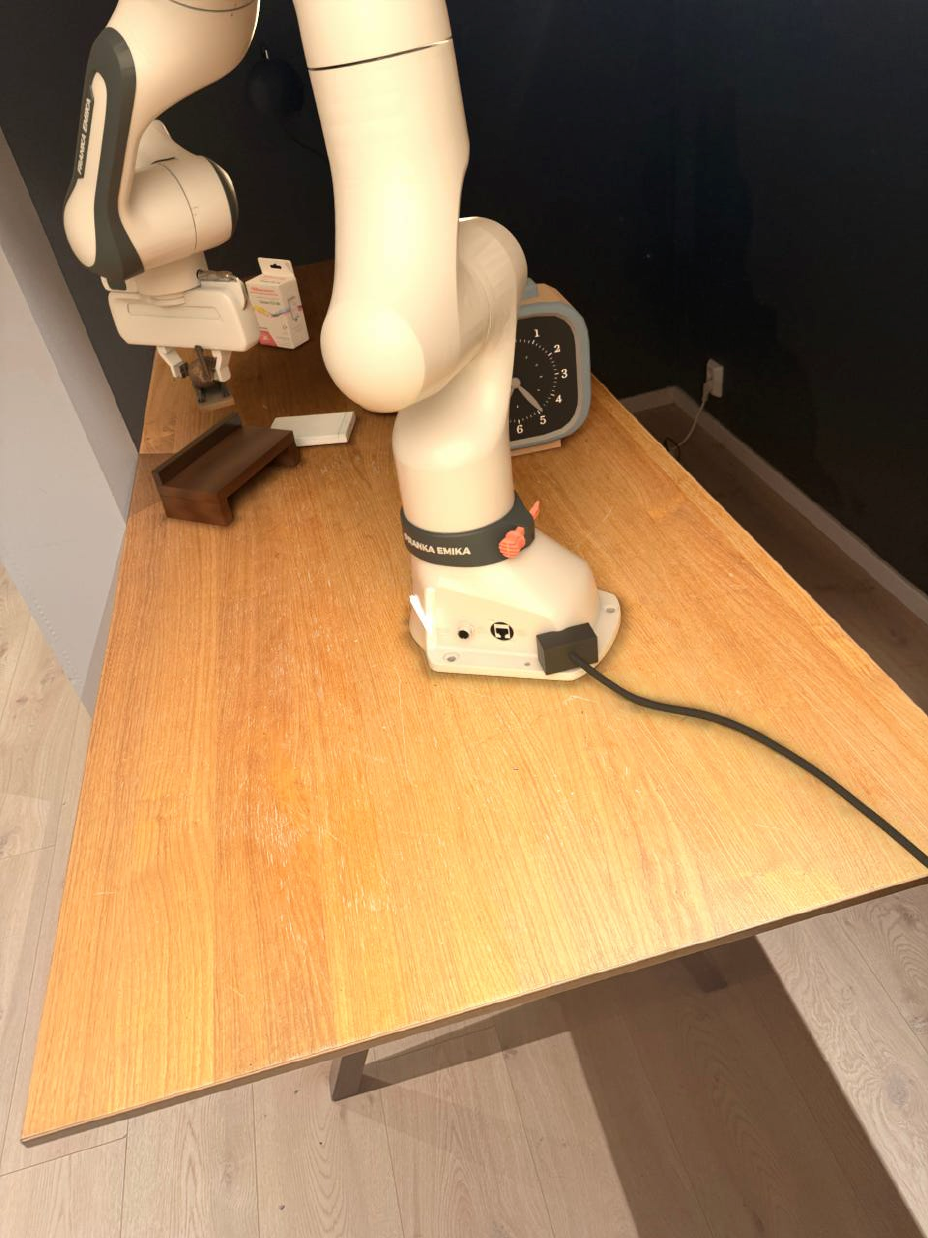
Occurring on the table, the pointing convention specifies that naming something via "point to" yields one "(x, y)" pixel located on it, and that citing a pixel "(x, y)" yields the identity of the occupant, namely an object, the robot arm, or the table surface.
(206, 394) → the figurine
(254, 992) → the table surface
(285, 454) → the shelf
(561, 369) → the alarm clock
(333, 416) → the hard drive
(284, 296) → the ink cartridge box
